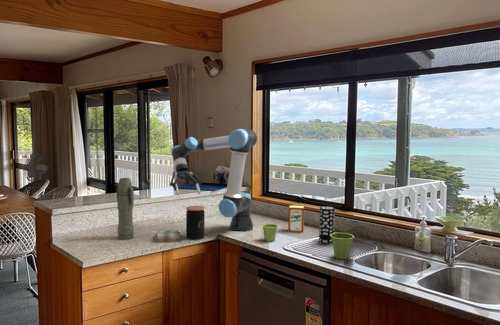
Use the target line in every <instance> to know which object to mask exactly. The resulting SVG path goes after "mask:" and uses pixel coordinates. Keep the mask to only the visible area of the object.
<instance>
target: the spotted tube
mask: <svg viewBox="0 0 500 325" xmlns="http://www.w3.org/2000/svg"><path fill="white" fill-rule="evenodd" d="M335 214H336V208H335V207H333V206H321V207H319V227H318V228H319V232H318V233H319V234H318V243H320V244H321V245H333V242H332V238H331V236H330V235H331V234H333V233H335V218H336V217H335Z"/></svg>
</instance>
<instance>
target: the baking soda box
mask: <svg viewBox="0 0 500 325" xmlns="http://www.w3.org/2000/svg"><path fill="white" fill-rule="evenodd" d="M288 231H289V232H288ZM303 231H305V205H303V206H302V205H289V206H288V227H287V232H288V233H300V232H303ZM303 233H304V232H303Z"/></svg>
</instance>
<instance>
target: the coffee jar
mask: <svg viewBox="0 0 500 325" xmlns="http://www.w3.org/2000/svg"><path fill="white" fill-rule="evenodd" d="M185 209H186V214H185V217H186V218H185V221H186V222H185V223H186V224H185V226H186V227H185V228H186V229H185V230H186V231H185V232H186V234H185V235H186V238H187V239H188V240H195V241H197V240H201V239H203V238H204V237H205V234H206V233H205V231H206V230H205V220H206V219H205V216H206V215H205V212H206V211H205V206H202V205H189V206H187V207H185Z"/></svg>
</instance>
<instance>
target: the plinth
mask: <svg viewBox="0 0 500 325" xmlns="http://www.w3.org/2000/svg"><path fill="white" fill-rule="evenodd" d="M154 240H155V241H154V242H155V244H159V243H180V242H181V233H180V231H179V229H175V230H173V229H172V230H171V229H169V230H157V231H156V232H155V238H154Z"/></svg>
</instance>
